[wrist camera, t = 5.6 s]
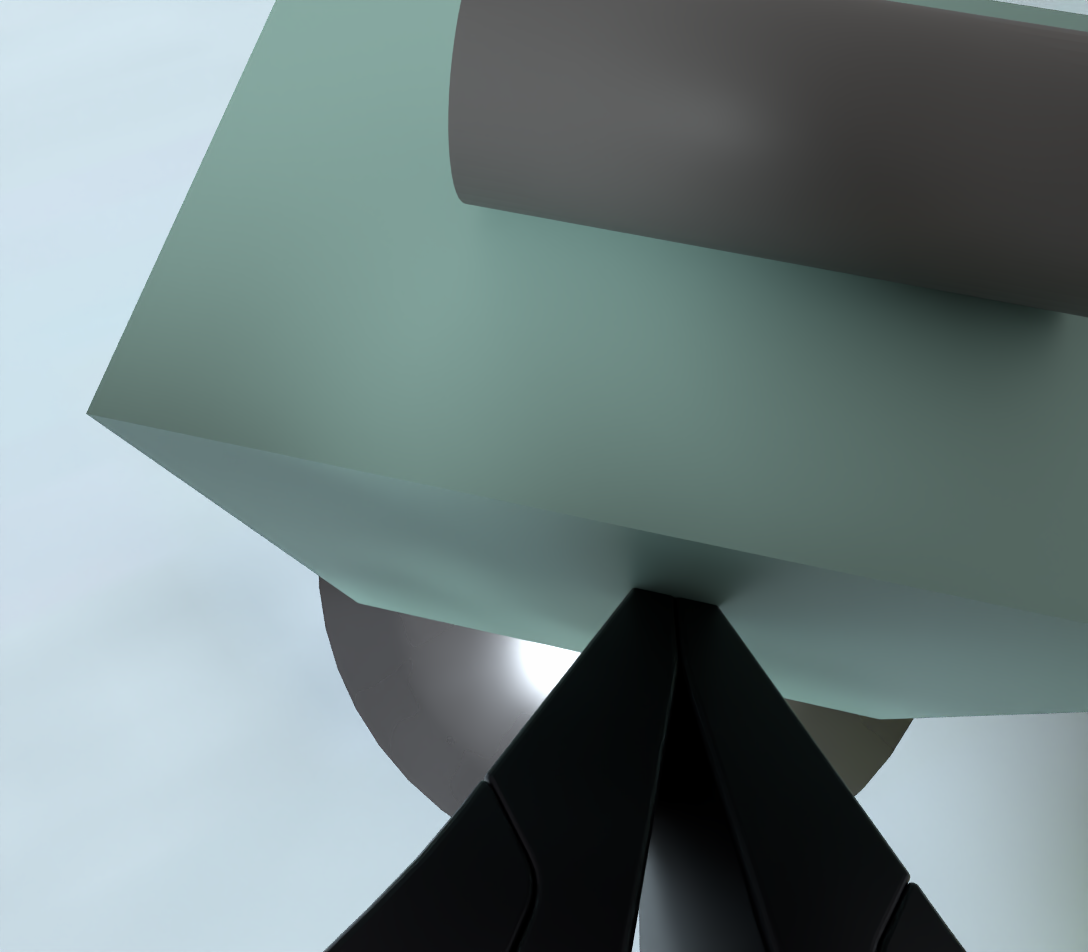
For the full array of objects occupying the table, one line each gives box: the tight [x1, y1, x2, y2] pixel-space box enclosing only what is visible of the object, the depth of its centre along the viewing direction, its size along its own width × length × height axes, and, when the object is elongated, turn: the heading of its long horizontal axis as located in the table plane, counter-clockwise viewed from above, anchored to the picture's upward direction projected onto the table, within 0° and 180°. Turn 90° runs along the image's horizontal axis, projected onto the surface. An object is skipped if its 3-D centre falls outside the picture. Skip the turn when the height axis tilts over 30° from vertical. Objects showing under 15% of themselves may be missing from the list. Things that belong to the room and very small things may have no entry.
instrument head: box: [86, 0, 1088, 719], centre depth 10 cm, size 8×10×11 cm
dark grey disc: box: [319, 576, 913, 817], centre depth 17 cm, size 14×14×3 cm
